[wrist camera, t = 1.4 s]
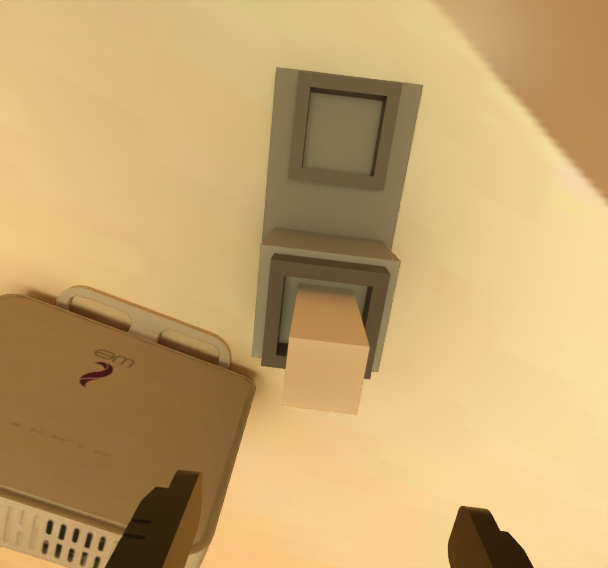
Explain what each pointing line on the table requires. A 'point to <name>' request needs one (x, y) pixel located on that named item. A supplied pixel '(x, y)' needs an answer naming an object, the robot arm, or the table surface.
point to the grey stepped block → (332, 200)
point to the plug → (325, 351)
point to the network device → (106, 425)
